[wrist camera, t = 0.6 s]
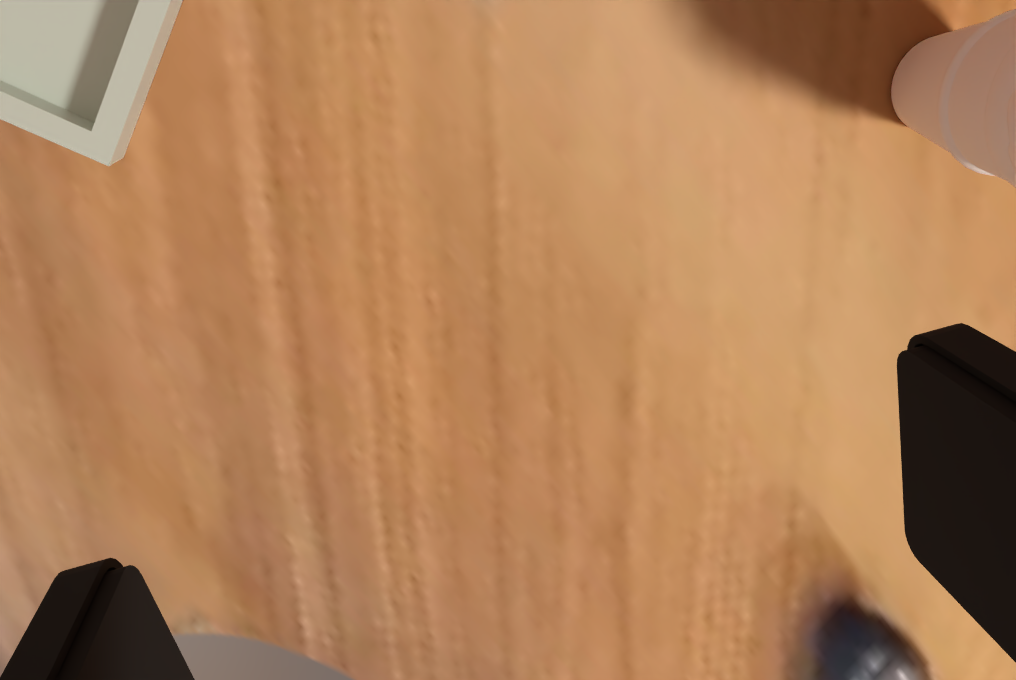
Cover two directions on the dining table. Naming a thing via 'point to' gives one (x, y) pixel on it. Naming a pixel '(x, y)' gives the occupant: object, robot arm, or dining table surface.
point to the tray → (81, 68)
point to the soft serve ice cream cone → (964, 94)
